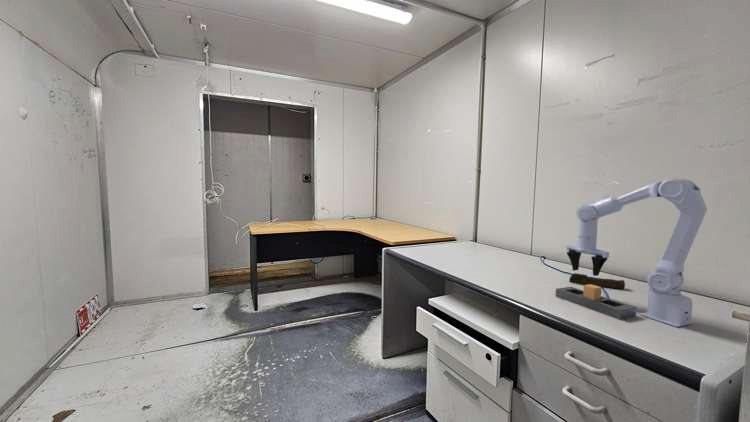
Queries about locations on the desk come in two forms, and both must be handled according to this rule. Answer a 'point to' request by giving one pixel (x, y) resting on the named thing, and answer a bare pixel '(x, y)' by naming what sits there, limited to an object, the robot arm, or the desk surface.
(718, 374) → the desk surface
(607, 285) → the hand tool
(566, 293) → the grey slotted block
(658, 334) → the desk surface
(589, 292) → the peg
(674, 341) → the desk surface
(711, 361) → the desk surface
